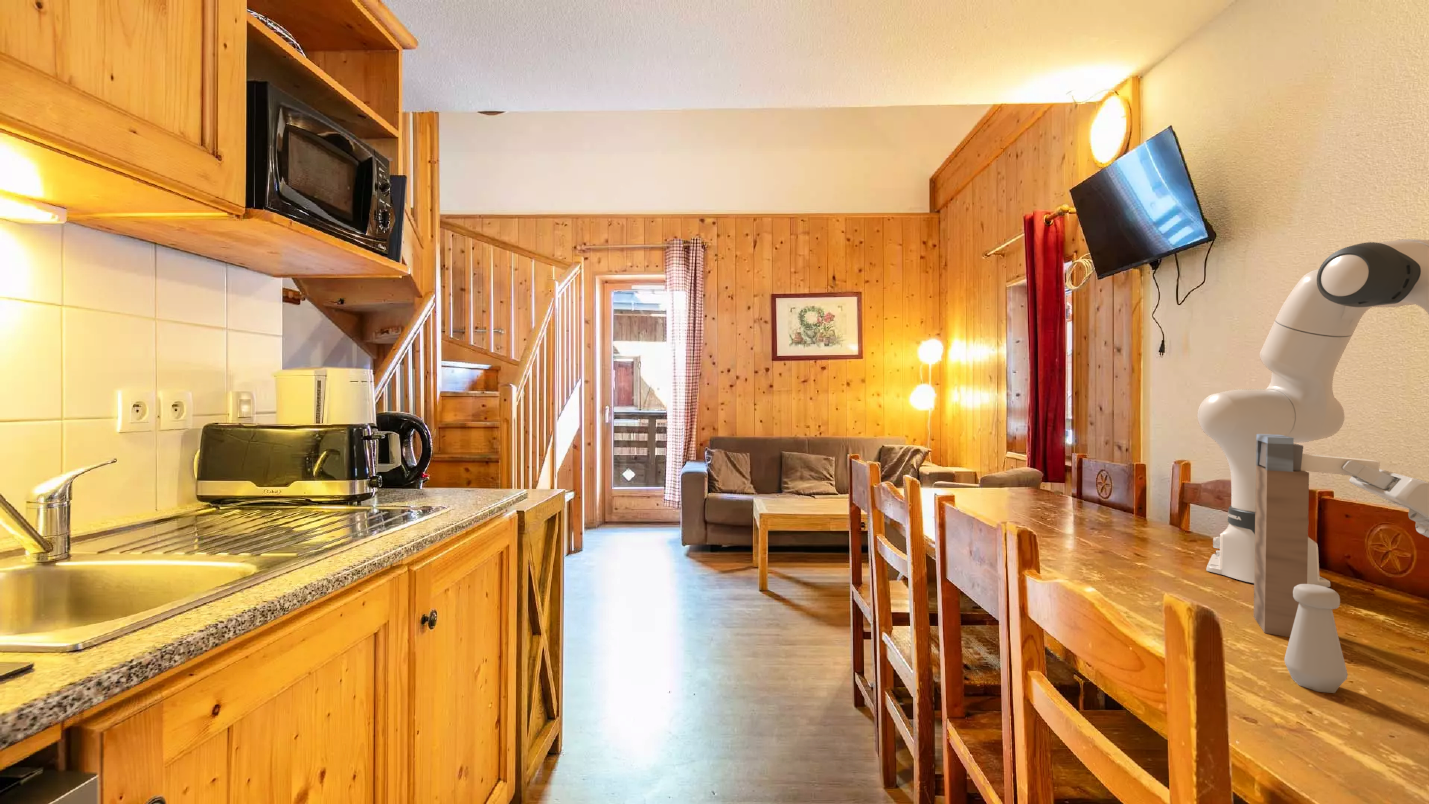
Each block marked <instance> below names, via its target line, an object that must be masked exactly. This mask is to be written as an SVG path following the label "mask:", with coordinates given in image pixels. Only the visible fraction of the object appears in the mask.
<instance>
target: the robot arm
mask: <svg viewBox="0 0 1429 804" xmlns="http://www.w3.org/2000/svg"><path fill="white" fill-rule="evenodd" d="M1414 305H1415V306H1418V307H1420V308H1422V309H1423V310H1424V311H1425V312H1426V313H1427V315H1429V239H1418V238H1417V239H1416V238H1415V239H1414V238H1408V239H1407V238H1406V239H1404V238H1403V239H1397V240H1390V241H1387V240H1386V241H1380V242H1375V241H1368V242H1361V243H1357V244H1353V245H1349V246H1346V247H1343V248H1340V249H1338V250H1337V251H1335V252H1333V253H1331V254H1330V255H1329V256H1328V257H1327V258H1326V259H1325V260H1324V261H1323V262H1322V263H1321V265H1320V267H1319V268H1317V269H1313V270H1311V271H1309V272H1307V273H1305V274H1304V275H1303V276H1301V278H1300V279H1299V280H1298V282H1297V283H1296V284H1295V286H1294V287H1293V288H1292V290H1291V291H1290V293H1289V294H1288V296H1287V297H1286V299H1285V300H1284V302H1283V304H1282V305H1281V307H1280V309H1279V311H1278V313H1277V315H1276V317H1275V319H1274V320H1273V323H1272V325H1271V328H1270V329H1269V332H1268V334H1267V336H1266V338H1265V340H1264V343H1263V344H1262V347H1261V349H1260V351H1259V359H1260V361H1261V363H1262V364H1263V366H1264V367H1265V368H1267V369H1268V370H1269V371H1270V372H1271V376H1270V378H1271V379H1270V382H1269V384H1268V386H1267V387H1266V388H1265V389H1261V388H1260V389H1259V388H1256V389H1254V388H1253V389H1250V388H1249V389H1247V388H1242V389H1241V388H1239V389H1235V388H1234V389H1230V390H1226V391H1225V390H1223V391H1221V392H1215V393H1212V394H1209V395H1208V396H1207V397H1205V398H1204V399H1203V400H1202V401H1201V402H1200V405H1199V407H1198V409H1197V416H1196V417H1197V422H1198V425H1199V427H1200V429H1201V431H1203V433H1204V434H1205V435H1206V436H1208V437H1209V438H1211V439H1212V440H1213V441H1214V442H1215V443H1216V444H1217V445H1218V446H1219V448H1220V449H1221V451H1222V453H1223V454H1224V457H1225V458H1226V462H1227V464H1228V467H1229V472H1230V473H1229V474H1230V487H1231V488H1230V490H1231V491H1230V492H1231V493H1230V494H1231V496H1230V499H1231V500H1230V501H1231V502H1230V503H1231V504H1230V506H1229V507H1228V511H1227V522H1228V525H1227V527H1226V528H1225V530H1223V531H1222V532H1221V533H1219V535H1220V536H1216V537H1215V536H1214V537H1212V538H1213V539H1212V547H1213V548H1214V549H1217V550H1215V553H1213V554H1211V556H1210V558H1209V560H1208V563H1207V566H1206V569H1205V570H1206V571H1207V572H1211V573H1214V574H1218V575H1223V576H1226V577H1229V578H1232V579H1236V580H1239V581H1242V582H1246V583H1251V584H1254V562H1255V498H1256V434H1270V435H1283V436H1288V437H1292V438H1294V443H1295V444H1298V443H1308V442H1313V441H1320V440H1322V439H1327V438H1329V437H1330V438H1331V437H1332V436H1335V434H1337V433H1338V432H1339V431H1340V430H1341V428H1342V427H1343V424H1344V421H1345V412H1344V411H1345V410H1344V408H1343V405H1342V404H1341V402H1340V401H1339V400H1338V399H1337V398H1336V397H1335V395H1334V391H1333V383H1334V382H1333V380H1334V374H1335V371H1336V369H1337V366H1338V365H1339V362H1340V360H1341V358H1342V356H1343V354H1344V352H1345V350H1346V348H1347V346H1348V345H1349V342H1350V340H1351V338H1352V336H1353V334H1354V332H1355V330H1356V329H1357V326H1358V325H1359V323H1360V321H1361V319H1362V317H1363V316H1364V314H1366V312H1367V311H1368V310H1370V309H1372V308H1399V307H1405V306H1414ZM1341 469H1342V470H1344V471H1346V472H1348V473H1351V474H1353V475H1355V476H1351V475H1349V476H1350V478H1349V483H1351V484H1352V485H1354V486H1355V487H1358V488H1359V489H1362V490H1364V491H1366V492H1369V493H1371V494H1373V495H1376V496H1378V497H1379V498H1381V499H1384V500H1385V501H1388V502H1391V503H1393V504H1395V505H1397V506H1399V507H1401V508H1405V509H1407V510H1408V513H1407V514H1408V515H1407V516H1408V518H1409V520H1411V521H1413V522H1415V525H1414V526H1415V527H1414V528H1415V530H1416V532H1417V533H1418V534H1420V535H1423V536H1425V537H1427V538H1429V482H1428V481H1426V480H1423V479H1419V478H1416V477H1411V476H1407V475H1403V474H1400V473H1396V472H1393V471H1389V470H1385V469H1381V468H1379V471H1378V470H1375V469H1372V468H1369V467H1367V466H1364V465H1362V464H1360V463H1357V462H1355V461H1352V460H1346V461H1345V462H1344V464H1343V465H1342V466H1341ZM1308 525H1309V522H1308ZM1218 549H1219V550H1218ZM1319 559H1320V558H1319V547H1318V543H1317V542H1316V541H1315V540H1314V539H1312V538H1310V537H1309V536H1308V565H1307V584H1314V585H1320V586H1324V587H1327V588H1330V587H1331V581H1330V580H1329V579H1326V578H1324V577H1322V576H1320V563H1319V561H1320V560H1319Z"/></svg>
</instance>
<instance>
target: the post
mask: <svg viewBox="0 0 1429 804" xmlns="http://www.w3.org/2000/svg"><path fill="white" fill-rule="evenodd" d="M1262 442H1265V443H1266V467H1264V466H1262V465H1260V464H1259V463H1260V453H1261V443H1262ZM1293 447H1294V438H1292V437H1288V436H1283V435H1270V434H1256V498H1255V562H1254V583H1253V618H1254V620H1255V621H1256V623H1257V624H1258V625H1259V627H1260V628H1261V629H1262V631H1263V633H1265V634H1267V635H1268V634H1269V635H1275V636H1281V637H1287V638H1290V635H1291V632H1292V628H1293V624H1294V620H1295V617H1296V613H1297V609H1298V605H1299V602H1297V601H1295V599H1294V597H1293V589H1294V587H1295V586H1297V585H1299V584H1307V565H1308V537H1309V524H1308V523H1309V504H1310V503H1309V501H1310V500H1309V499H1310V498H1309V497H1310V488H1309V487H1310V471H1295V470H1293Z"/></svg>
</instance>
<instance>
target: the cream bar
mask: <svg viewBox="0 0 1429 804" xmlns="http://www.w3.org/2000/svg"><path fill="white" fill-rule="evenodd" d="M1303 452H1304V445H1301V444H1298V443H1294V447H1293V470H1295V471H1306V472H1312V473H1322V474H1324V473H1325V474H1332V475H1333V474H1334V475H1342V476H1343V475H1344V476H1350V475H1351V476H1355V475H1353V474H1351V473H1348V472H1346V471H1344V470H1342V469H1341V466H1342V465H1343V464H1344V462H1345V461H1346V460H1352V461H1355V462H1357V463H1360V464H1362V465H1364V466H1367V467H1369V468H1372V469H1375V470H1378V471H1379V469H1380V468H1381V467H1380V466H1381V461H1378V460H1374V459H1368V458H1367V459H1366V458H1357V457H1355V458H1354V457H1342V456H1332V455H1323V454H1310V453H1303ZM1259 464H1260V465H1262V466H1264V467H1266V443H1265V442H1262V443H1261V453H1260V463H1259ZM1351 476H1350V477H1351Z"/></svg>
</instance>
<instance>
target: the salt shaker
mask: <svg viewBox="0 0 1429 804" xmlns="http://www.w3.org/2000/svg"><path fill="white" fill-rule="evenodd" d="M1293 597H1294V599H1295V601H1297V602H1299V605H1298V609H1297V613H1296V617H1295V620H1294V624H1293V628H1292V632H1291V635H1290V637H1289V639H1288V644H1287V647H1286V651H1285V655H1284V658H1283V659H1284V665H1285V666H1286V668H1287V669H1286V670H1287V671H1288V673H1289V674H1290V677H1291V679H1292V680H1293V681H1294V682H1295V684H1297V685H1298V686H1300V687H1303V688H1305V689H1309V690H1312V691H1314V692H1319V693H1329V694H1331V693H1332V694H1335V693H1336V692H1337V691H1338V689H1339V687H1341V685H1342V684H1343V683H1344V682H1345V681H1347V679H1348V670H1347V666H1346V662H1345V659H1344V654H1343V649H1342V647H1341V646H1342V645H1341V643H1340V639H1339V635H1338V630H1337V627H1336V625H1337V624H1336V621H1335V617H1334V613H1333V610H1336V609H1339V607H1340V605H1341V598H1340V597H1341V596H1340V595H1339V593H1338V592H1337V591H1335V590H1334V589H1332V588H1330V587H1324V586H1320V585H1314V584H1299V585H1297V586H1295V587H1294V589H1293Z"/></svg>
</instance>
